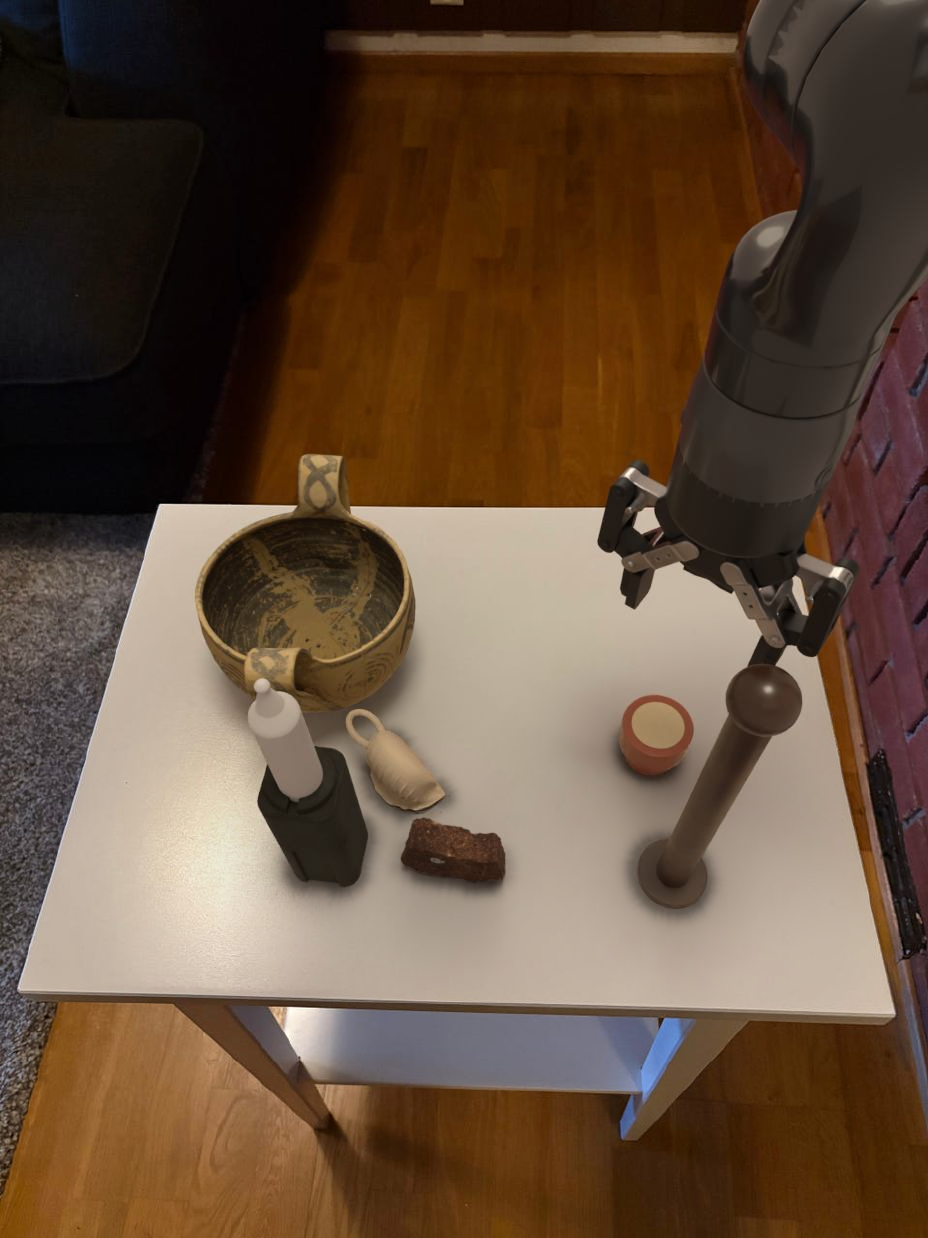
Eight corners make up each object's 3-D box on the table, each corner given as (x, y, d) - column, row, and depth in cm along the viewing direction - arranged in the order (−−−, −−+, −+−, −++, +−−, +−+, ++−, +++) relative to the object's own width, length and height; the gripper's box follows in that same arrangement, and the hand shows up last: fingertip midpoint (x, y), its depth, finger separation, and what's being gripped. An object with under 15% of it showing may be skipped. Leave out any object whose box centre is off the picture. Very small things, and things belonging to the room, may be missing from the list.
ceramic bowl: (405, 784, 69) (388, 688, 56) (195, 770, 70) (134, 673, 58) (433, 564, 81) (424, 446, 69) (255, 555, 83) (215, 438, 70)
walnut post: (717, 867, 64) (844, 671, 42) (685, 922, 62) (800, 747, 39) (658, 829, 66) (749, 621, 43) (624, 881, 64) (701, 691, 41)
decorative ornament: (404, 827, 67) (399, 800, 62) (345, 749, 71) (336, 718, 66) (447, 797, 68) (444, 768, 64) (386, 722, 72) (380, 690, 68)
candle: (290, 880, 65) (198, 719, 44) (306, 815, 67) (227, 636, 47) (357, 889, 64) (295, 730, 44) (370, 823, 67) (319, 646, 46)
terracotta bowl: (695, 744, 70) (706, 718, 66) (661, 795, 68) (672, 770, 64) (636, 710, 72) (645, 682, 68) (602, 758, 70) (609, 731, 66)
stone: (400, 872, 65) (395, 848, 61) (409, 833, 66) (404, 807, 62) (503, 889, 64) (504, 866, 60) (509, 850, 66) (510, 824, 61)
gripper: (932, 456, 41) (825, 644, 54) (666, 347, 46) (628, 543, 60) (870, 557, 38) (773, 731, 51) (591, 427, 43) (568, 616, 56)
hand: (695, 629), depth 55 cm, fingers open, 8 cm apart
